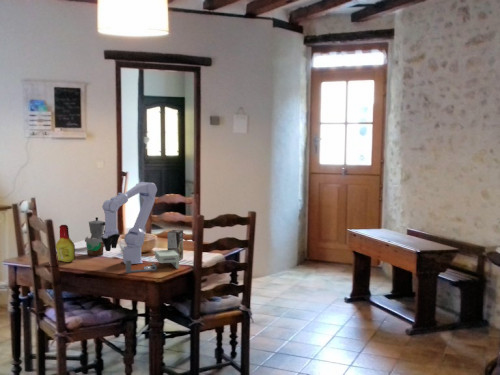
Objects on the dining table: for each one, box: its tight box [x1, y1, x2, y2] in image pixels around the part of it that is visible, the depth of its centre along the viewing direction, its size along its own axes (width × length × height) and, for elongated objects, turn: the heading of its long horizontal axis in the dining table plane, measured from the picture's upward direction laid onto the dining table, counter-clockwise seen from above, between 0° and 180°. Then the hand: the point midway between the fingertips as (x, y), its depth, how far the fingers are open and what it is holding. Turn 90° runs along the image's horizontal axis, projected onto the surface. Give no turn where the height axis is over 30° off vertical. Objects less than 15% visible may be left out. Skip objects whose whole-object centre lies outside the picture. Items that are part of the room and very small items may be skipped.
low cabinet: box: [154, 249, 180, 269], centre depth 298 cm, size 10×15×7 cm
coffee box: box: [167, 229, 184, 262], centre depth 312 cm, size 9×6×16 cm
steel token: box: [143, 265, 154, 270], centre depth 293 cm, size 5×5×1 cm
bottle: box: [55, 224, 76, 263], centre depth 305 cm, size 12×6×20 cm, turn 60°
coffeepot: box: [88, 217, 105, 239], centre depth 345 cm, size 15×9×18 cm, turn 59°
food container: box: [84, 236, 105, 257], centre depth 321 cm, size 12×6×10 cm, turn 68°
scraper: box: [125, 260, 158, 274], centre depth 290 cm, size 15×11×6 cm
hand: (111, 249), depth 293 cm, fingers open, 7 cm apart
